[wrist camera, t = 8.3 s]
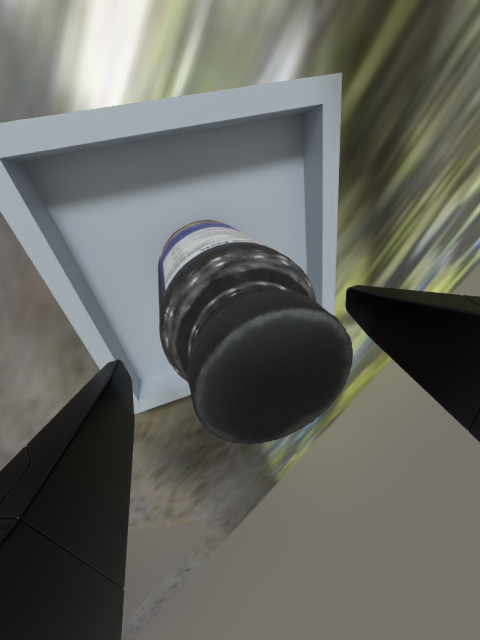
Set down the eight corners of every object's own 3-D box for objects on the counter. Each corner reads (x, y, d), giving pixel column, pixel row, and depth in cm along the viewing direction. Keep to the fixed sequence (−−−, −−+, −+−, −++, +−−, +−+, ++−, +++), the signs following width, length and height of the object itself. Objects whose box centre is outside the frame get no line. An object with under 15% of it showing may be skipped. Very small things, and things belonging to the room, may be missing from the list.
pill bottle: (240, 315, 18) (327, 451, 9) (152, 307, 16) (150, 476, 7) (262, 229, 16) (415, 296, 7) (162, 206, 14) (179, 257, 4)
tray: (313, 89, 14) (342, 72, 11) (316, 329, 22) (333, 344, 20) (-11, 140, 11) (-51, 130, 9) (132, 390, 19) (129, 415, 17)
